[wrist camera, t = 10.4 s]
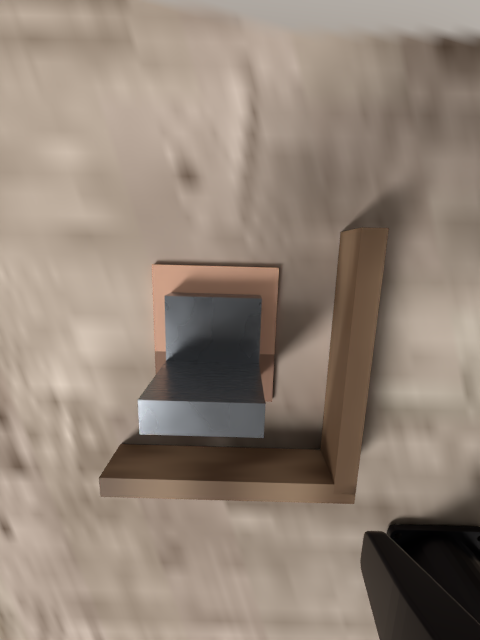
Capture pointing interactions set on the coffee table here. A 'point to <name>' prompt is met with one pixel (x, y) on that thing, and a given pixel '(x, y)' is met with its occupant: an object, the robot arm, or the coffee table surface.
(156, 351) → the pad
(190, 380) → the angle bracket
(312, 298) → the coffee table surface
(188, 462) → the l-shaped wooden corner frame
